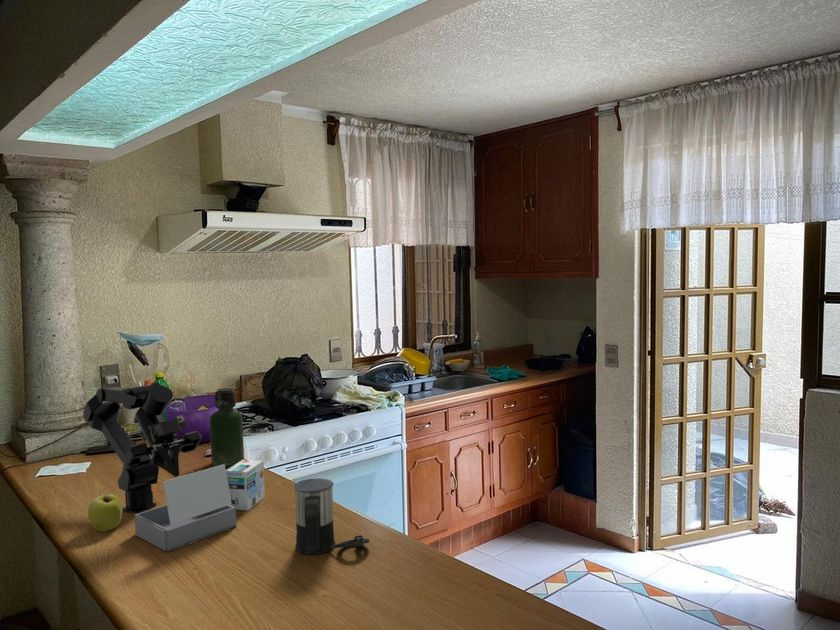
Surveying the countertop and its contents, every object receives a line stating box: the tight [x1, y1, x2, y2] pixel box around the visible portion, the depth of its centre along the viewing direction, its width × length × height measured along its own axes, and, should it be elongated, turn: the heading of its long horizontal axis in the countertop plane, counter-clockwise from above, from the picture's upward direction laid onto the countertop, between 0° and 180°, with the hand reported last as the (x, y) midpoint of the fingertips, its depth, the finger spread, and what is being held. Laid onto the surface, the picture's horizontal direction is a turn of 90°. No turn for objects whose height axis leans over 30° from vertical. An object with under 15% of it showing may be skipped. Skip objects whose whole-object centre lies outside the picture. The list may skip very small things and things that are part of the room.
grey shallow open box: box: [134, 504, 237, 553], centre depth 157 cm, size 16×19×5 cm
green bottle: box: [209, 387, 245, 468], centre depth 211 cm, size 10×10×25 cm
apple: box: [87, 491, 124, 533], centre depth 158 cm, size 8×8×10 cm
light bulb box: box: [226, 459, 266, 511], centre depth 175 cm, size 11×7×11 cm, turn 168°
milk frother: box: [293, 477, 370, 555], centre depth 145 cm, size 14×16×15 cm
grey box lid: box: [162, 464, 232, 525], centre depth 152 cm, size 1×16×10 cm, turn 141°
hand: (177, 475), depth 158 cm, fingers closed
